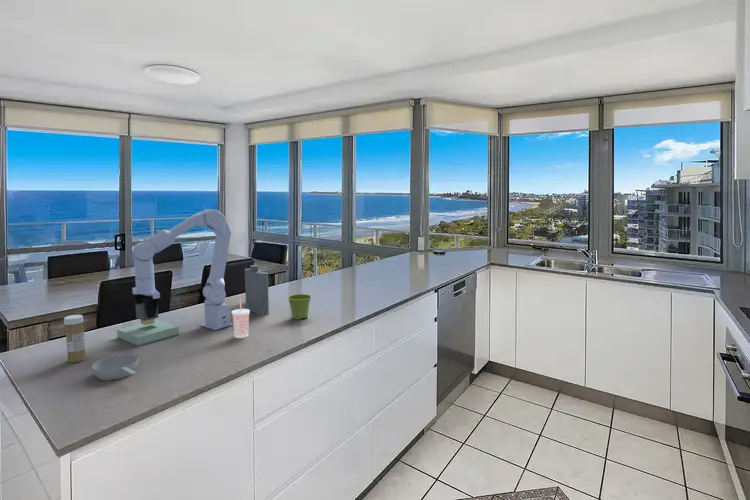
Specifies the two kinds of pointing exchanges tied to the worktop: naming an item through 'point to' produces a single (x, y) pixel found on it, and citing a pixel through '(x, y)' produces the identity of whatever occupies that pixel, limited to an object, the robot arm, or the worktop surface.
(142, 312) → the plug
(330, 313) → the worktop surface
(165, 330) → the socket block
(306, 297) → the plant pot
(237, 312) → the beverage cup
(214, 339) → the worktop surface
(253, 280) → the hip flask
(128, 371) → the small pan
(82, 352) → the sprinkles bottle
